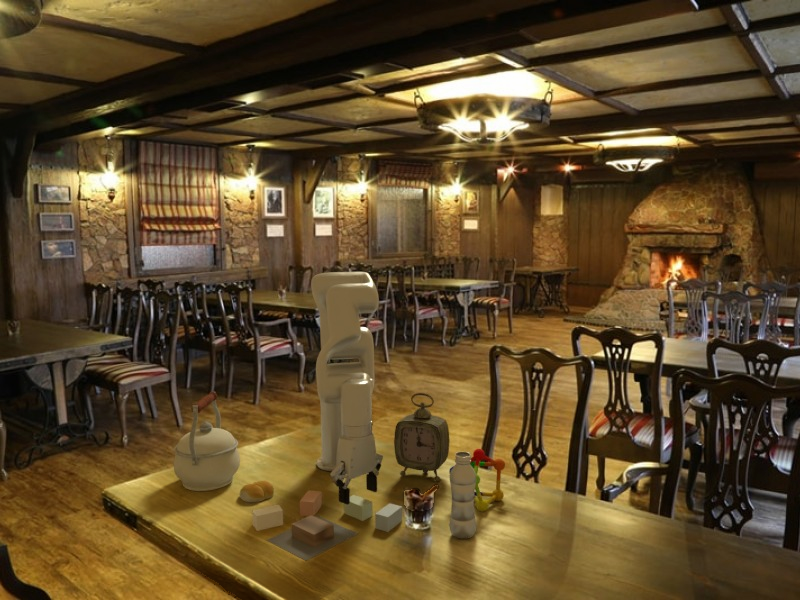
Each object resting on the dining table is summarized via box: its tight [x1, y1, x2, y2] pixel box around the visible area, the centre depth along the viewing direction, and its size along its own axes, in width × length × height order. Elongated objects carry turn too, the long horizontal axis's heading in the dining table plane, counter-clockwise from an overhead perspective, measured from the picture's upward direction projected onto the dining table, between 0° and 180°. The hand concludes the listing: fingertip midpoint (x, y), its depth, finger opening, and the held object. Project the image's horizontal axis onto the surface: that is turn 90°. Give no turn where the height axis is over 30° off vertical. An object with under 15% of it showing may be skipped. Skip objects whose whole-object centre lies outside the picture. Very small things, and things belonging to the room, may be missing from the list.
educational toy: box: [449, 448, 506, 512], centre depth 168 cm, size 16×13×15 cm
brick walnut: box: [291, 515, 334, 547], centre depth 148 cm, size 6×8×3 cm
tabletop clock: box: [393, 392, 451, 483], centre depth 186 cm, size 14×9×25 cm, turn 67°
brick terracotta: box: [299, 490, 323, 517], centre depth 162 cm, size 6×4×5 cm, turn 169°
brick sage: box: [343, 494, 373, 522], centre depth 160 cm, size 6×4×5 cm, turn 49°
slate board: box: [266, 515, 359, 562], centre depth 149 cm, size 16×14×1 cm
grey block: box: [374, 502, 403, 533], centre depth 154 cm, size 6×4×5 cm, turn 149°
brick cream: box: [251, 504, 284, 532], centre depth 155 cm, size 6×4×5 cm, turn 119°
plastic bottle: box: [448, 451, 478, 540], centre depth 150 cm, size 6×7×20 cm
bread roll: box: [239, 480, 275, 504], centre depth 174 cm, size 8×9×4 cm
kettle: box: [173, 391, 241, 492], centre depth 184 cm, size 25×18×25 cm
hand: (358, 496), depth 158 cm, fingers open, 9 cm apart
